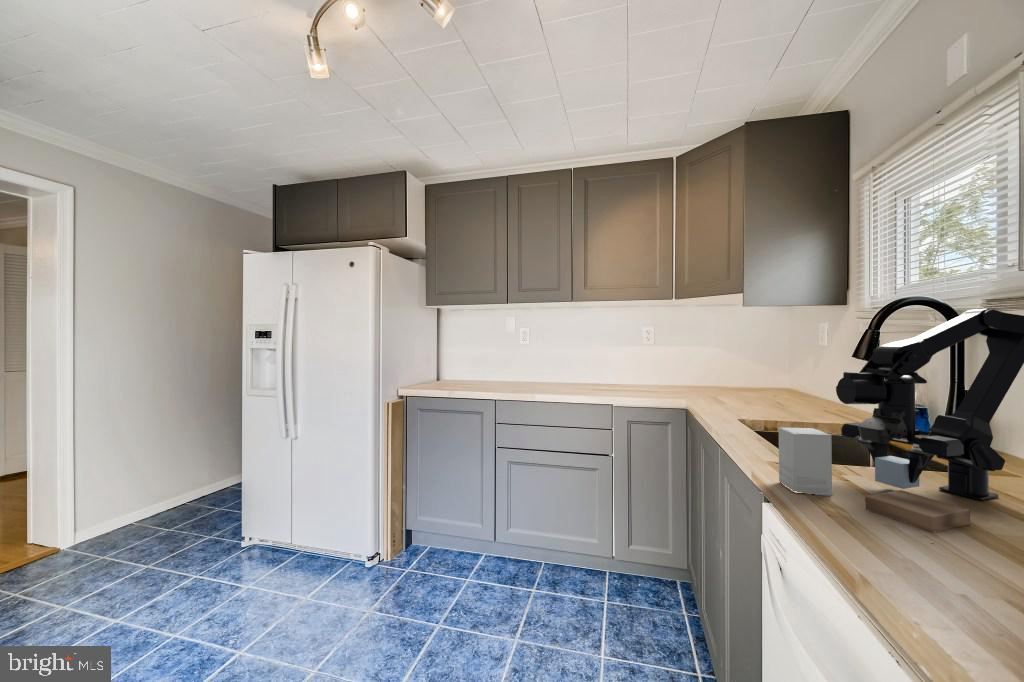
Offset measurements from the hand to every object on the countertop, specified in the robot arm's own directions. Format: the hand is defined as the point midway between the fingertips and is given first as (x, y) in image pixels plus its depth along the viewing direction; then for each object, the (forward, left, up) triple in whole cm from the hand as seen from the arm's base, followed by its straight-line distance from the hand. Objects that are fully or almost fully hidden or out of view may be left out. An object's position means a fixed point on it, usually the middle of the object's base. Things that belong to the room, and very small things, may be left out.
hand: (896, 478), depth 86 cm
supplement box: (+16, -8, -3) cm, 18 cm away
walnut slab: (+11, +9, -3) cm, 14 cm away
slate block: (0, 0, -1) cm, 1 cm away
